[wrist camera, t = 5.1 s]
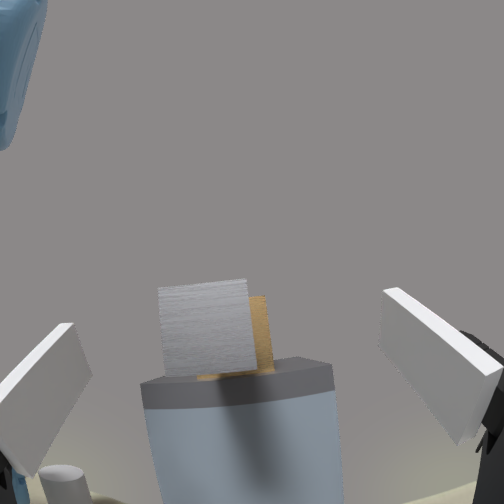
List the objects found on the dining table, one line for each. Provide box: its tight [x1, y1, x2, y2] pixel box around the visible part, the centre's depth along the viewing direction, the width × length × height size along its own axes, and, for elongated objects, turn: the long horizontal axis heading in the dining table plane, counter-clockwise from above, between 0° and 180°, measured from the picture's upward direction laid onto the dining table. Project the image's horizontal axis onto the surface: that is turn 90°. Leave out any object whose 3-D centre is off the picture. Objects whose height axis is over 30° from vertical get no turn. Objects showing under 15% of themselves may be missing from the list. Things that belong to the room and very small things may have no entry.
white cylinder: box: [38, 465, 93, 504], centre depth 29 cm, size 8×8×12 cm
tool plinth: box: [140, 357, 344, 504], centre depth 23 cm, size 16×14×30 cm
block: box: [158, 279, 275, 379], centre depth 21 cm, size 24×6×6 cm, turn 0°
